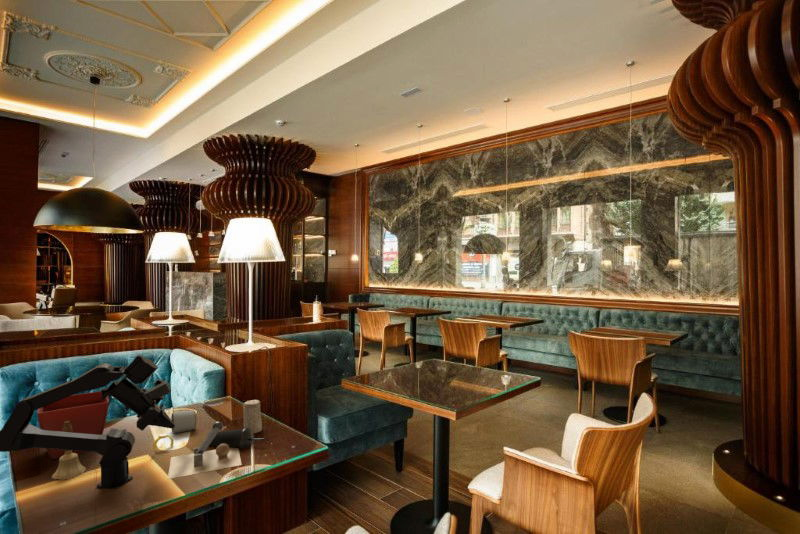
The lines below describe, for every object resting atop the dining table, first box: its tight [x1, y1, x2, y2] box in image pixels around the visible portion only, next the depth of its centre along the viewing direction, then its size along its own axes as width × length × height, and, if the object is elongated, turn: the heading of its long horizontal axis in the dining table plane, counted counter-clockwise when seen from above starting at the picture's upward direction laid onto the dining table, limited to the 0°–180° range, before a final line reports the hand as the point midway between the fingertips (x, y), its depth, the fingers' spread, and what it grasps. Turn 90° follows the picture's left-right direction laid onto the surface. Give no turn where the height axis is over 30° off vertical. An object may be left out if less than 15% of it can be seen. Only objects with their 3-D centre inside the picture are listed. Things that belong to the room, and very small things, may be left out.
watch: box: [152, 433, 174, 452], centre depth 148 cm, size 6×3×6 cm, turn 139°
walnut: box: [215, 443, 229, 460], centre depth 139 cm, size 4×4×4 cm
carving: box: [242, 399, 263, 434], centre depth 162 cm, size 6×8×12 cm
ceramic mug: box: [170, 410, 198, 435], centre depth 169 cm, size 11×8×8 cm
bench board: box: [167, 446, 242, 480], centre depth 137 cm, size 20×16×5 cm
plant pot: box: [36, 390, 110, 460], centre depth 152 cm, size 19×19×17 cm
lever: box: [196, 421, 224, 454], centre depth 137 cm, size 3×4×12 cm
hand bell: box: [51, 421, 87, 480], centre depth 134 cm, size 8×8×16 cm
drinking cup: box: [209, 428, 265, 450], centre depth 149 cm, size 8×8×20 cm
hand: (173, 426), depth 133 cm, fingers closed
